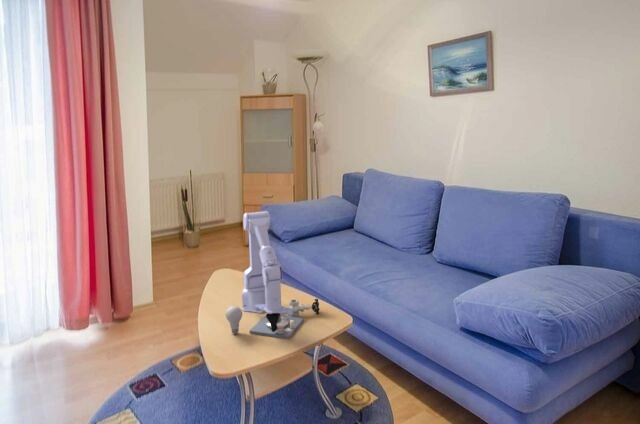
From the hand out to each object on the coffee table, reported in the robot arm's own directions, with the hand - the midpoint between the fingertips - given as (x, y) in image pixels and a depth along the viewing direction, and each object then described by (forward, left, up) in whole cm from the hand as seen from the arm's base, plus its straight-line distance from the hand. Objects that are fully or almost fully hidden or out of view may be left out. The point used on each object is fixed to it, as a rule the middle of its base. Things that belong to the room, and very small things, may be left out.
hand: (274, 330), depth 169 cm
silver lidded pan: (-1, +5, -1) cm, 5 cm away
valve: (+4, +19, -2) cm, 20 cm away
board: (-2, +7, -2) cm, 7 cm away
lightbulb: (-15, -3, -2) cm, 15 cm away
